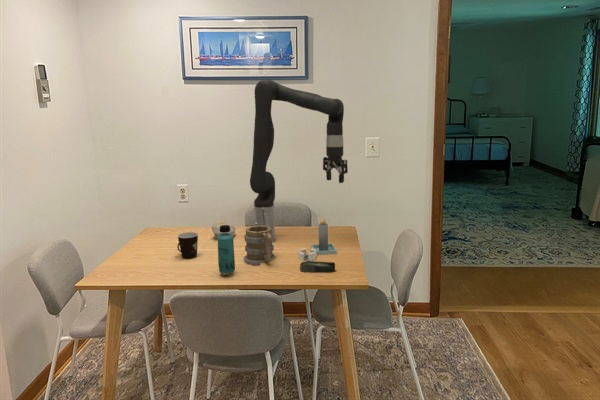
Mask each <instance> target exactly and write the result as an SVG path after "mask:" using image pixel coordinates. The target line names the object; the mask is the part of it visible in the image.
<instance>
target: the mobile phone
mask: <svg viewBox="0 0 600 400" xmlns="http://www.w3.org/2000/svg"><path fill="white" fill-rule="evenodd" d="M299 271H300V273H315V274H316V273H326V274H327V273H334V272H336V263H335V262H333V261H331V262H330V261H316V260H313V261H302V262H300V264H299Z"/></svg>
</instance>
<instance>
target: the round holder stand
mask: <svg viewBox="0 0 600 400" xmlns="http://www.w3.org/2000/svg"><path fill="white" fill-rule="evenodd" d="M309 251H310V252H309V253H307V248H305V247H304V248H301V249H299V251H298V252H297V254H298V255H297V259H298V260H300V261H302V262H306V261H316V260H317V256H318V255H317V250H315V249H311V248H310V250H309Z"/></svg>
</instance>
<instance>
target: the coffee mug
mask: <svg viewBox="0 0 600 400" xmlns="http://www.w3.org/2000/svg"><path fill="white" fill-rule="evenodd" d="M198 236H199V234H198V233H197V232H194V231H190V232H189V231H188V232H182V233H179V234H177V239H178V243H177V246H176V248H177V251H178V252H179V253H180V254H181V258H182V259H183V260H193V259H196V258H197V256H198V240H199V237H198Z"/></svg>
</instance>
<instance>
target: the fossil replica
mask: <svg viewBox="0 0 600 400" xmlns="http://www.w3.org/2000/svg"><path fill="white" fill-rule="evenodd" d="M222 225H229V226H230V231H229V232H224V233H230V234H231V235H233V237H234V236H235V234H236V227H235V226H234V225H231V224H229V223H228V221H226V220H222V221H217V222H215V221H214V223H213V224H212V226H211V230H212V233H213V234H214V237H215V238H216V239H217V237H218V236H219V235H220V234H222V233H223V232H220V226H222Z"/></svg>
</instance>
